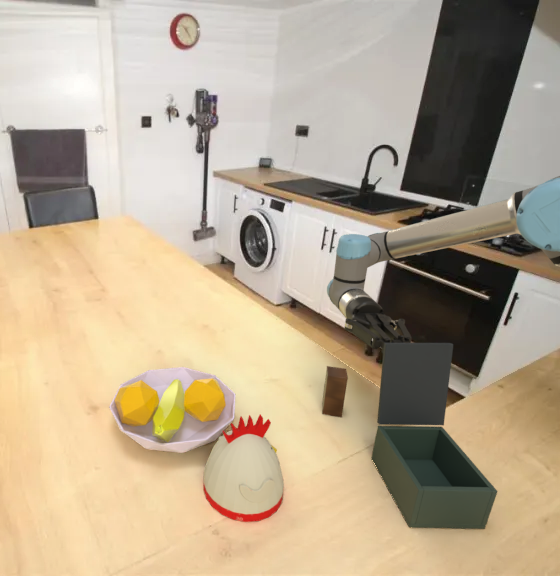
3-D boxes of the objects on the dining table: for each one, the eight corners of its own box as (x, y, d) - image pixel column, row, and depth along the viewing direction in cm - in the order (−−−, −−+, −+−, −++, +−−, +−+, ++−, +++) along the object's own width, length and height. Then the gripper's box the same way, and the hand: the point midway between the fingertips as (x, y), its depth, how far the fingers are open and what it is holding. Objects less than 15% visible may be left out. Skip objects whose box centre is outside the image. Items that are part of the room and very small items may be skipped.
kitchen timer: (297, 513, 67) (305, 439, 62) (216, 529, 64) (218, 454, 59) (263, 453, 80) (268, 387, 75) (195, 464, 77) (195, 397, 72)
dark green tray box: (485, 529, 64) (498, 491, 61) (409, 527, 64) (418, 489, 62) (433, 459, 77) (442, 426, 75) (371, 459, 78) (377, 425, 75)
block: (340, 406, 93) (346, 368, 90) (341, 417, 89) (347, 378, 86) (322, 403, 94) (326, 365, 91) (322, 414, 91) (327, 375, 87)
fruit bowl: (150, 378, 105) (149, 338, 101) (252, 407, 93) (255, 363, 89) (79, 447, 82) (73, 400, 78) (202, 497, 70) (203, 444, 66)
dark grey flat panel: (453, 344, 71) (450, 342, 72) (386, 344, 72) (383, 342, 73) (443, 425, 74) (441, 423, 75) (378, 424, 75) (376, 422, 75)
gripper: (386, 325, 98) (443, 380, 75) (331, 325, 98) (371, 380, 76) (392, 296, 95) (452, 344, 73) (335, 296, 95) (377, 344, 73)
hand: (410, 362), depth 74 cm, fingers closed
